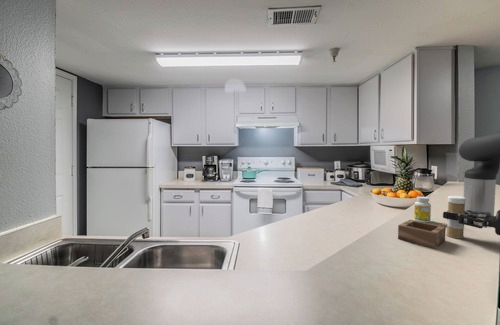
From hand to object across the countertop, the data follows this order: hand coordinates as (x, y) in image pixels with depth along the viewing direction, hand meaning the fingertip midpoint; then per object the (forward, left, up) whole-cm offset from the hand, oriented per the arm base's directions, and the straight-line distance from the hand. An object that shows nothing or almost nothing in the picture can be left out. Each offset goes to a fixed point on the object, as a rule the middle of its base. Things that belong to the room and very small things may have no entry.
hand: (445, 213), depth 83 cm
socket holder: (+12, -3, -7) cm, 14 cm away
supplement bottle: (-12, -10, -7) cm, 17 cm away
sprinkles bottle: (0, +3, -7) cm, 8 cm away
